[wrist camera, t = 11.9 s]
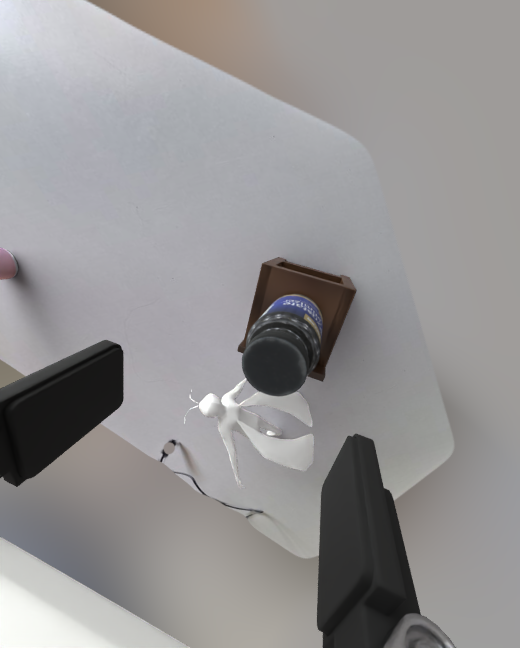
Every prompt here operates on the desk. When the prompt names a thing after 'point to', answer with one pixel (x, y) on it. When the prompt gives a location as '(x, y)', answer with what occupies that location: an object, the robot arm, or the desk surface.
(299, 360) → the pill bottle
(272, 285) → the shelf
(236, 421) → the figurine
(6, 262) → the beverage can
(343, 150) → the desk surface
